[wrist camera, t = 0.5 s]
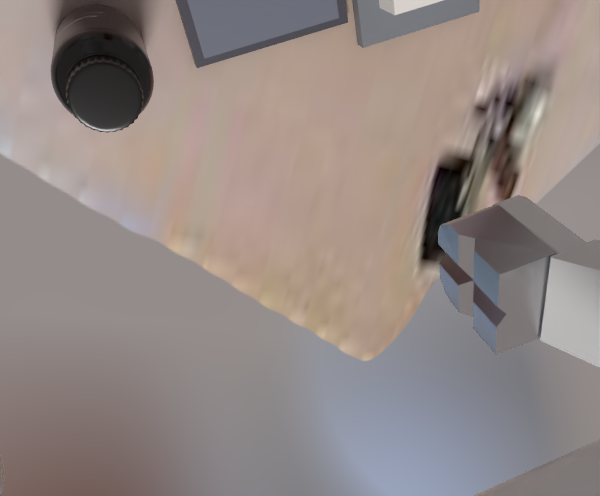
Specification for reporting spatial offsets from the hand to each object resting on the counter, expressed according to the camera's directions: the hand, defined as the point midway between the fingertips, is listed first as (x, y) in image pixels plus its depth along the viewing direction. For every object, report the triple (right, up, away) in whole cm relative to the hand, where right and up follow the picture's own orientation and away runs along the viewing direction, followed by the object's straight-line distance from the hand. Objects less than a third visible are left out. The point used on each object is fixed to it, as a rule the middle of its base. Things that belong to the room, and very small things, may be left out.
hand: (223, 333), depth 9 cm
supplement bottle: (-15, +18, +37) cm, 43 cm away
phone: (-2, +22, +38) cm, 44 cm away
